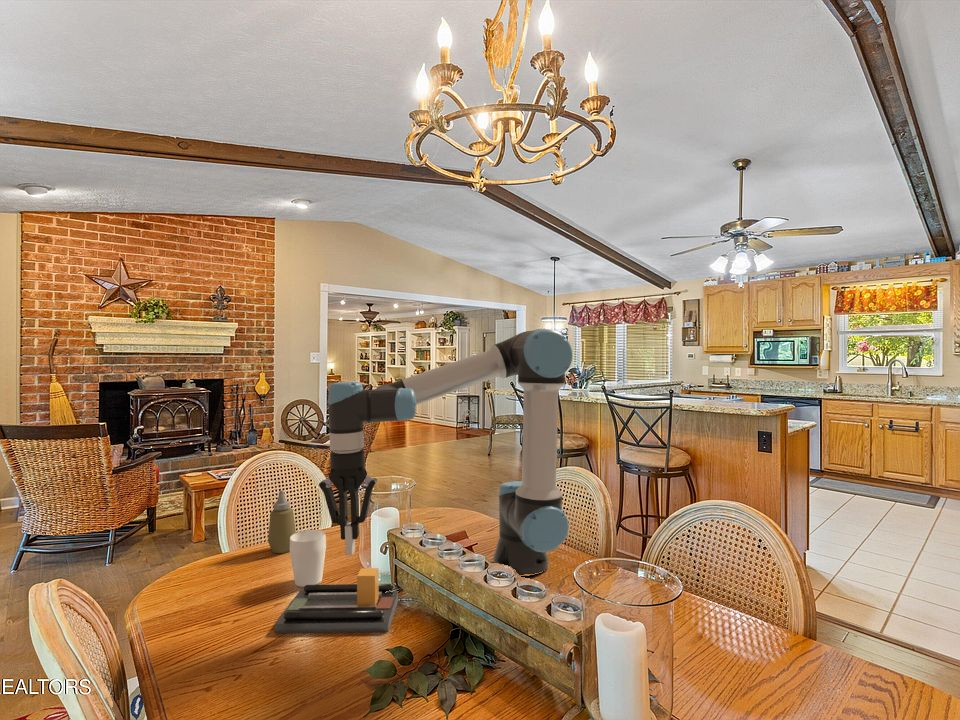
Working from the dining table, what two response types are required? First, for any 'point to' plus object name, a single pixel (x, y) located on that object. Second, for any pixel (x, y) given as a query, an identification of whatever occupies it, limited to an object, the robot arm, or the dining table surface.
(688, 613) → the dining table surface
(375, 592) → the amber wood post
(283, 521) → the squeeze bottle
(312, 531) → the cup
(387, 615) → the panel
